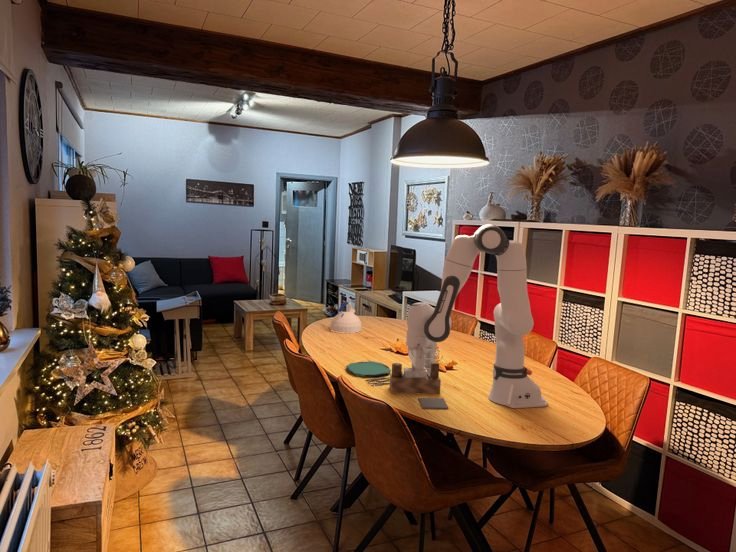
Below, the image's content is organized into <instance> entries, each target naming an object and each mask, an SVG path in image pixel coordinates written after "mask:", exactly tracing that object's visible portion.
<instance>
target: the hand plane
mask: <svg viewBox="0 0 736 552" xmlns="http://www.w3.org/2000/svg"><path fill="white" fill-rule="evenodd" d="M402 365H403V364H402V363H400V362H394V363H391V372H390V374H389V377H390V378H389V379H390V381H389V383H390V384H389V390H390V393H391V394H416V393H420V394H424V395H426V394H428V395H429V394H430V395H431V394H432V395H440V394H441V381H442V380H441V378H440V376H439V375H440V373H439V372H440V363H439V361H435V362H431V371H430V374H429V372H427V378H405V377H404V371H403V370H402V369H403V366H402ZM420 394H419V395H420Z"/></svg>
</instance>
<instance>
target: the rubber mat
mask: <svg viewBox="0 0 736 552" xmlns="http://www.w3.org/2000/svg"><path fill="white" fill-rule="evenodd" d="M417 400H418V402H419V405H420V407H421V406H422V407H421V408H422V410H424V409H425V410H449V409H450V408H449V406H448V404H447V402H446V401H445V399H444V398H443V397H418V398H417Z"/></svg>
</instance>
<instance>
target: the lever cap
mask: <svg viewBox="0 0 736 552" xmlns="http://www.w3.org/2000/svg"><path fill="white" fill-rule="evenodd" d="M414 371H415V368H412V367H403V374H404V377H405V378H427V370H426V368H425V367H424V369H423V370H420V372H419V377H415V376H414Z"/></svg>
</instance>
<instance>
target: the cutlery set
mask: <svg viewBox="0 0 736 552" xmlns="http://www.w3.org/2000/svg"><path fill="white" fill-rule="evenodd" d="M345 367H346V370H347V371H348V372H349V373H351V374H354V375H355V376H356V377H360V378H361V377H362V378H363V377H377V378H369V379H365V382H367V383H368V384H370V383H371V384H370V386H371V387H379V386H380V387H382V386H385V385H390V373H392V369H391V368H390V367H389V366H388V365H386V364H384V363H382V362H379V361H378V362H377V361H370V360H369V361H359V362H358V361H357V362H351V363H349V364H348V365H346V366H345ZM386 374H387V375H388V377H385V376H383V375H386ZM378 376H379V377H380V376H383V377H380V378H378ZM370 380H371V381H370ZM375 381H376V382H375ZM369 382H370V383H369ZM374 385H375V386H374Z"/></svg>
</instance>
